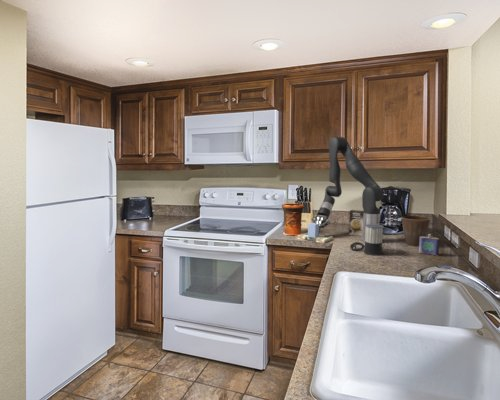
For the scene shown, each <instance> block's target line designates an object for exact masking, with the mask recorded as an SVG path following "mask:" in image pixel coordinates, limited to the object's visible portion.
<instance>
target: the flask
mask: <svg viewBox="0 0 500 400" xmlns="http://www.w3.org/2000/svg"><path fill="white" fill-rule="evenodd" d="M439 250H440V239H439V237H435V236H432V234H431V233H428V234H427V236H425V237H420V242H419V246H418V253H419V254H420V253H422V254H421V255H426V254H431V255H430V256H433V255H438V256H439Z"/></svg>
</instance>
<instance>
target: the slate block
mask: <svg viewBox="0 0 500 400" xmlns="http://www.w3.org/2000/svg"><path fill="white" fill-rule="evenodd" d="M307 233H308V237H313V238H316V237H319V235H320V230H319V224H318V223H316V222H315V223H313V222H310V223H307Z"/></svg>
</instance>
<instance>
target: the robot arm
mask: <svg viewBox="0 0 500 400" xmlns="http://www.w3.org/2000/svg"><path fill="white" fill-rule="evenodd" d="M338 152H339V153H341V155H342V156H343V157H344V160H345V161H344V162H345V168H346V170H347V171H348V172H349V173H348V174H350V175H351V177H352V178H354V179H355V180H356V181H358V182H359V183H360V184H361V185H362V186H364V189H363V190H362V194H361V195H362V196H361V197H362V199H361V200H362V201H361V202H362V205H361V206H362V209H363V210H362V211H364V216H363V236H362V242H364V243H365V232H366V226H365V225H367V224H377V225H380V218H381V217H380V216H381V209H380V208H379V207H377V202H380V201H382V200H383V199H384V196H385V195H384V190H383V189H382V188H381V186H380V185H379V184H378V183H377V182H376V181H375V180H374V179H373V177H372V176H371V174H370V173H369V172H368V171H367V169H366V168H365V166H364V164H363V163H362V162H361V161H360V159H359V158H358V156H357V155H356V153H355V152H354V151H353V149H352V147H351V145H350V143H349V142H348V140H347V139H346V138H345V137H343V136H332V137H330V139H329V140H328V154H329V156H328V158H329V177H328V181H329V182H330V183H331V184H332V183H333V184H334V185H327V186H326V187H325V190H324V192H325V193H324V199H323V201H322V203H321V205H320V207H319V208H318V212H317V214H316V216H315V217H314V218H312V217H311V218H310V219H311V223H318V224H319V231H320V230H321V229H324V228H326V227H327V226H329V225H330V224H331V221H330V220H329V218H330V215H331V214H332V211H333V207H334V204H335V203H336V202H335V201H336V199H335V198H339V197H341V195H342V186H341V167H340V166H341V165H340V162H339V159H338Z"/></svg>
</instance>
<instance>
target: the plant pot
mask: <svg viewBox="0 0 500 400" xmlns="http://www.w3.org/2000/svg"><path fill="white" fill-rule="evenodd" d="M430 221H431V218H430V217H428V216H423V215H422V216H420V215H403V216H401V225H402V230H403V236H404V238H405V241H406V244H407V246H410V245H411V247H419V242H420V237H427V233H428V229H429V227H430V226H429V225H430Z"/></svg>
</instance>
